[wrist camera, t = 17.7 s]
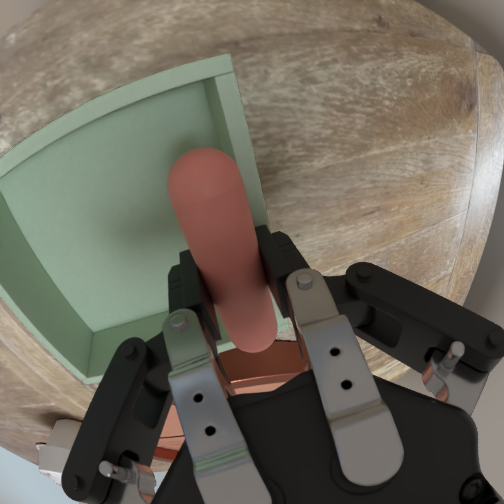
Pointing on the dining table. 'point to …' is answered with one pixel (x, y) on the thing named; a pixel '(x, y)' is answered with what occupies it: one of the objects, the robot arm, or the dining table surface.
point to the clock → (240, 384)
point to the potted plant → (58, 449)
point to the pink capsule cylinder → (224, 244)
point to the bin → (113, 210)
